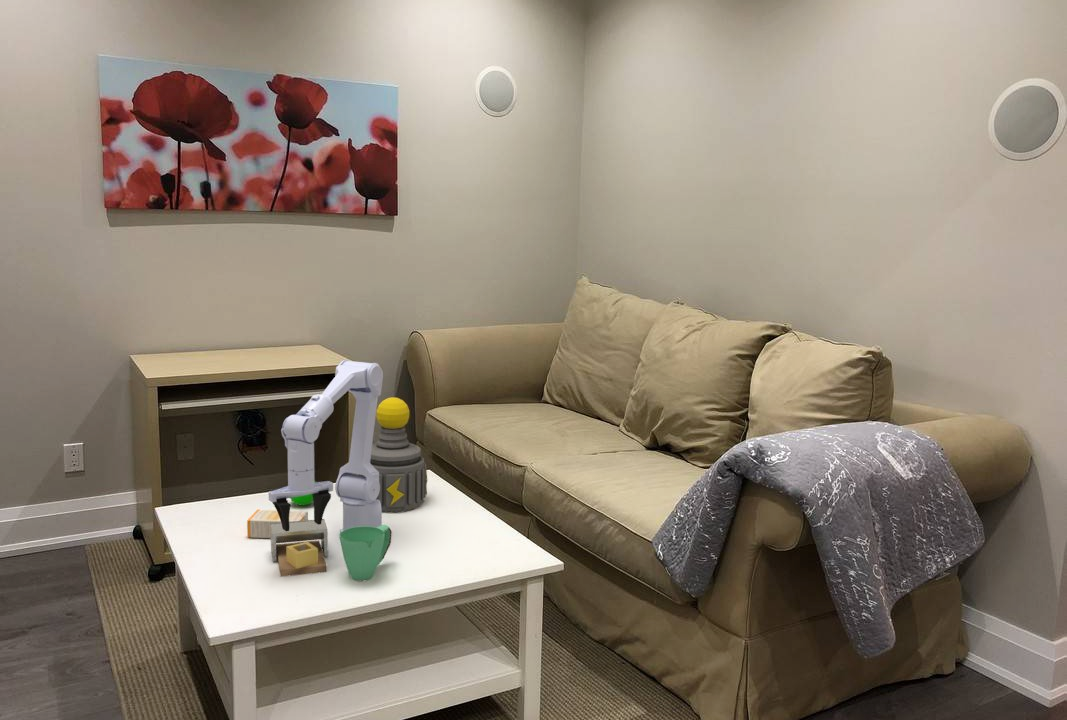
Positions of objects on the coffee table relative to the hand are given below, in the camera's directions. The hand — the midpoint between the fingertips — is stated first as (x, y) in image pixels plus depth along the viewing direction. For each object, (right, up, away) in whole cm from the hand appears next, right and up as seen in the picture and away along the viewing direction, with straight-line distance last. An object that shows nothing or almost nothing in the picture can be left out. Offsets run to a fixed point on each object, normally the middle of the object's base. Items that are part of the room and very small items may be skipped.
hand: (302, 526), depth 200 cm
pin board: (-2, -9, +6) cm, 11 cm away
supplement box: (-18, -3, +22) cm, 29 cm away
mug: (+15, -11, 0) cm, 18 cm away
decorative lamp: (+13, -3, +48) cm, 50 cm away
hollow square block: (0, -8, +1) cm, 8 cm away
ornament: (-11, -3, +44) cm, 46 cm away
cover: (-3, -8, +9) cm, 13 cm away
